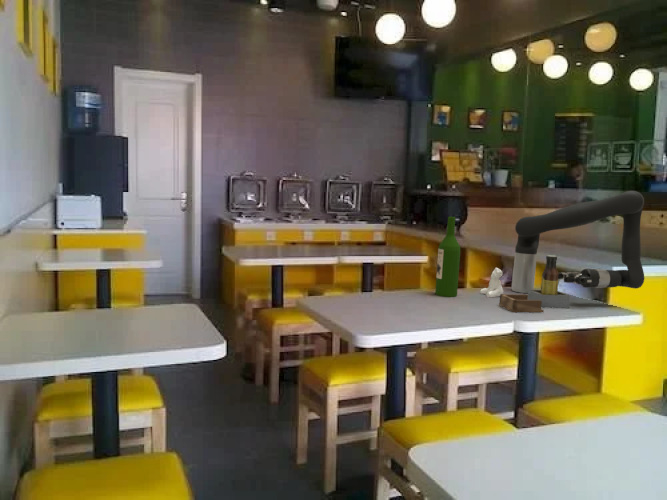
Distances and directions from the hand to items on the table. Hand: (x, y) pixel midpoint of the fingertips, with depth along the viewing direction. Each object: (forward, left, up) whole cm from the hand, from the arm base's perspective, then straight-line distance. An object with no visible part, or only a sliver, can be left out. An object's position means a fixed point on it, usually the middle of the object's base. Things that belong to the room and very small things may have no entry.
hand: (558, 277), depth 247 cm
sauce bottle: (0, -4, -11) cm, 12 cm away
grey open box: (0, -4, -11) cm, 12 cm away
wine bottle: (-18, -40, -11) cm, 45 cm away
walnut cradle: (+8, -20, -11) cm, 24 cm away
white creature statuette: (-18, -19, -11) cm, 28 cm away
